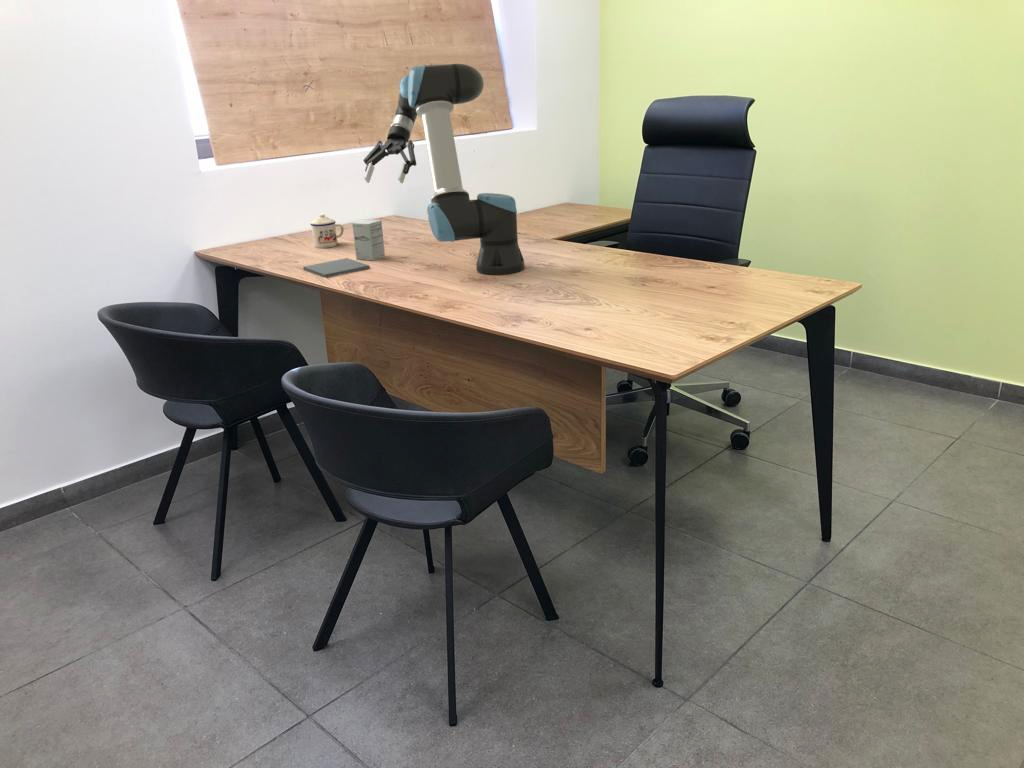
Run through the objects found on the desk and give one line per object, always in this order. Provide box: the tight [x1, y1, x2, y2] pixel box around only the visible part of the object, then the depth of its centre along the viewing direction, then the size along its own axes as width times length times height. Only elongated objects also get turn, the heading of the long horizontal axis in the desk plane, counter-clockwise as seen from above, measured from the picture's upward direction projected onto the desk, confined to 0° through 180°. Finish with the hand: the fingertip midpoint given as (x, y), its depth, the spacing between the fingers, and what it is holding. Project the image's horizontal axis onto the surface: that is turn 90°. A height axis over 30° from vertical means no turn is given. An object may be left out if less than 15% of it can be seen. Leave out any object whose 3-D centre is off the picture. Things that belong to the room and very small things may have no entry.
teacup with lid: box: [310, 213, 345, 249], centre depth 301 cm, size 12×9×12 cm
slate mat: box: [302, 257, 370, 278], centre depth 266 cm, size 16×16×1 cm
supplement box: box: [351, 219, 386, 261], centre depth 277 cm, size 7×7×13 cm
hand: (383, 180), depth 282 cm, fingers open, 13 cm apart
